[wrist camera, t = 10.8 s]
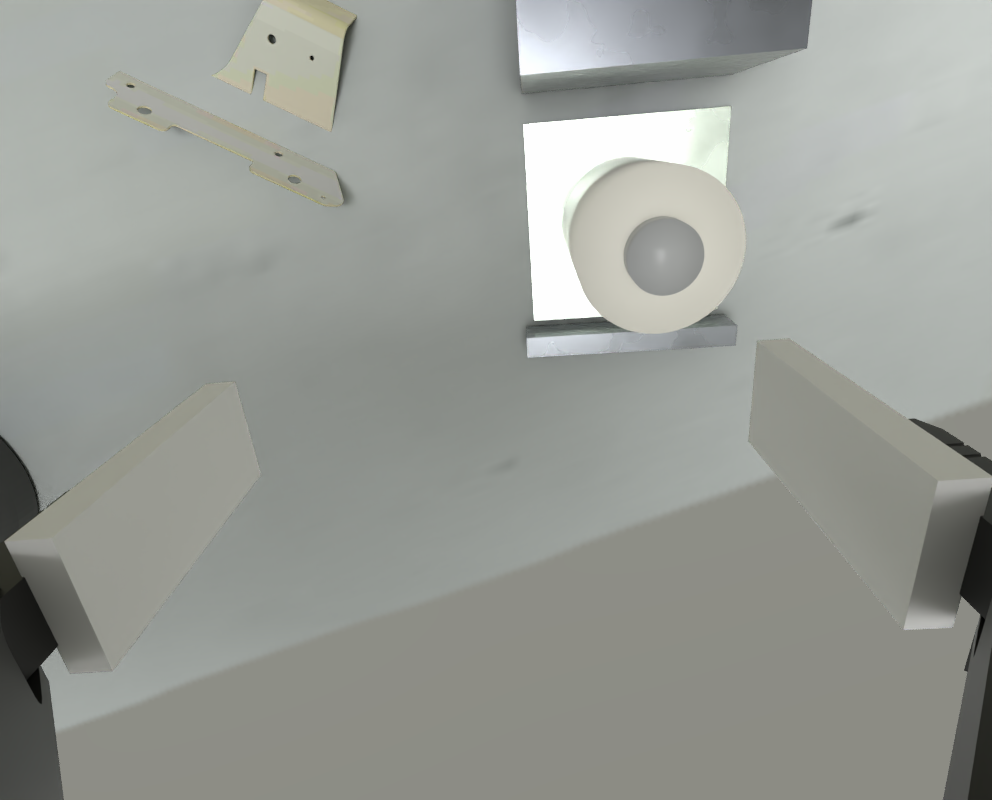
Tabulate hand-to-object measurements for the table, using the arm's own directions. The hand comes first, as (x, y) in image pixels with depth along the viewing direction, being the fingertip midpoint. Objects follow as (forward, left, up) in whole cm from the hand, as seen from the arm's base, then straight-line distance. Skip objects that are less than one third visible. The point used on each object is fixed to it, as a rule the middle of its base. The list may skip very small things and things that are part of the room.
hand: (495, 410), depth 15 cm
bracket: (-14, +11, -23) cm, 29 cm away
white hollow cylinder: (+6, +2, -22) cm, 23 cm away
